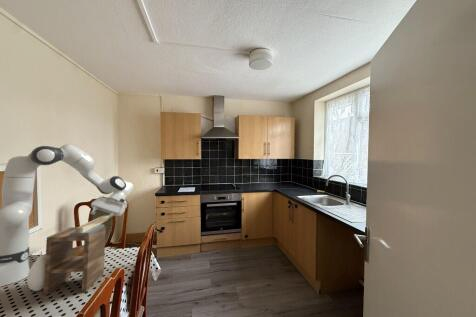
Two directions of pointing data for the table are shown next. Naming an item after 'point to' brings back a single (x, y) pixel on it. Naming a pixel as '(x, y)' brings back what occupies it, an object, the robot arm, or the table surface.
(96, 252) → the walnut stand
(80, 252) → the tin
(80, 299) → the table surface
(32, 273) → the sauce bottle
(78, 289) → the table surface
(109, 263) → the table surface
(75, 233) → the slate tile
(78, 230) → the beech bar
